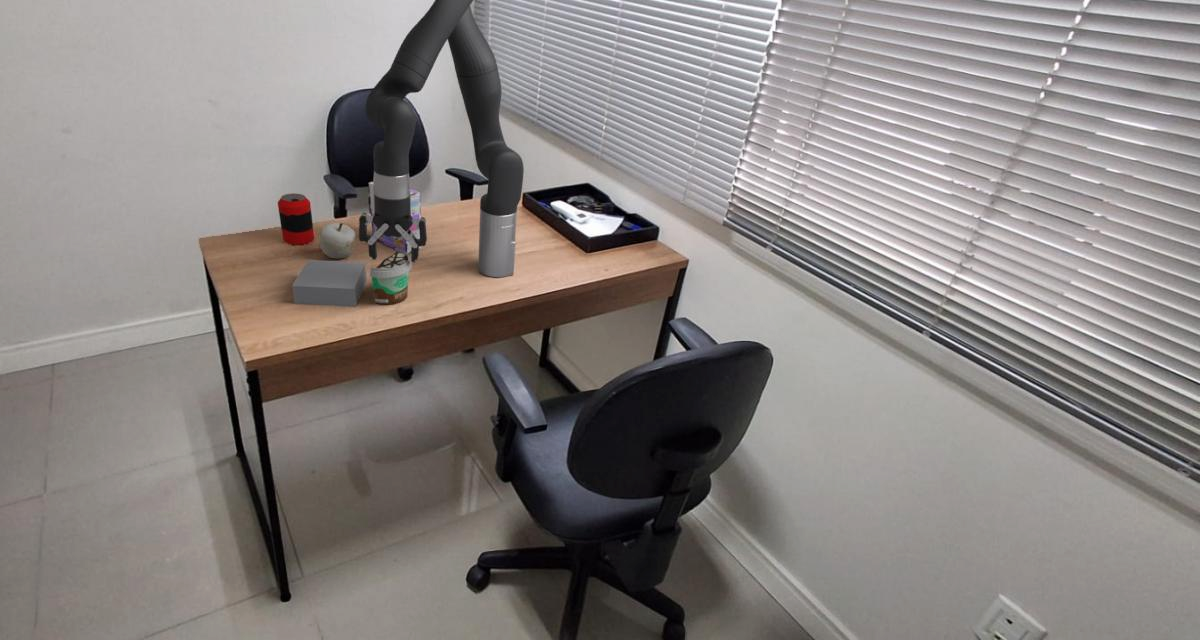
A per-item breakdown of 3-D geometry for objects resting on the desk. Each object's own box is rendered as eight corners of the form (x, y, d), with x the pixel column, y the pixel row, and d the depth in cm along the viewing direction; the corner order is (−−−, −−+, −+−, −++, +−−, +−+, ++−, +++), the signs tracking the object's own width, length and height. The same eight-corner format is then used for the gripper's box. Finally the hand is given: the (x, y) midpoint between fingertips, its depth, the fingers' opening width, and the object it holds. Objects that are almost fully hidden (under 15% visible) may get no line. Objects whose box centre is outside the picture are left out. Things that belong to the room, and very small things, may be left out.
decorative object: (320, 250, 160) (316, 215, 155) (355, 248, 164) (353, 213, 159) (321, 266, 154) (317, 229, 149) (359, 263, 157) (356, 227, 152)
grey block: (366, 281, 151) (365, 262, 148) (355, 307, 140) (354, 288, 137) (310, 278, 149) (308, 259, 146) (294, 305, 138) (291, 285, 135)
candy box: (422, 248, 169) (421, 191, 161) (406, 255, 165) (403, 196, 156) (388, 233, 175) (385, 177, 166) (371, 238, 170) (367, 181, 162)
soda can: (287, 247, 160) (280, 204, 153) (280, 236, 164) (273, 193, 158) (317, 243, 164) (312, 201, 158) (310, 232, 169) (305, 190, 163)
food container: (397, 313, 140) (395, 274, 135) (372, 307, 140) (369, 268, 135) (421, 289, 150) (420, 252, 145) (398, 284, 151) (396, 247, 146)
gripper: (428, 188, 137) (427, 254, 145) (360, 182, 134) (364, 250, 142) (424, 200, 130) (424, 269, 138) (353, 194, 127) (358, 264, 136)
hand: (394, 259), depth 140 cm, fingers open, 8 cm apart
